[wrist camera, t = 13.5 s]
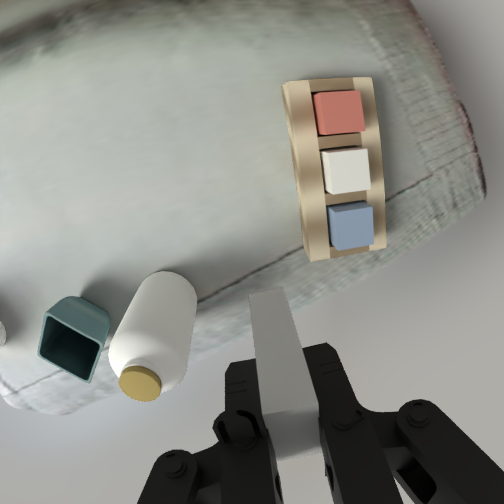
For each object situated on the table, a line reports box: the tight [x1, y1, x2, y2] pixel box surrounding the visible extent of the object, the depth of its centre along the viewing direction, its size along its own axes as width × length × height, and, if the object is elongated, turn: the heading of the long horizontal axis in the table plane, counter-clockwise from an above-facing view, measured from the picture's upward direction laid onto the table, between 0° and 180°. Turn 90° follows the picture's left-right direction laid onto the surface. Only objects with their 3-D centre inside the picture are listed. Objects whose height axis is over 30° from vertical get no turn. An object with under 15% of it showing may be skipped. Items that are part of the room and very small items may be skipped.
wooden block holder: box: [281, 77, 386, 262], centre depth 37 cm, size 21×10×4 cm, turn 9°
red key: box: [311, 91, 365, 135], centre depth 33 cm, size 4×4×5 cm
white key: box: [319, 146, 371, 195], centre depth 35 cm, size 4×4×5 cm
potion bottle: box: [108, 271, 197, 402], centre depth 35 cm, size 8×8×18 cm
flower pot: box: [38, 296, 110, 383], centre depth 40 cm, size 9×9×9 cm
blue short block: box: [326, 200, 374, 251], centre depth 37 cm, size 4×4×5 cm
